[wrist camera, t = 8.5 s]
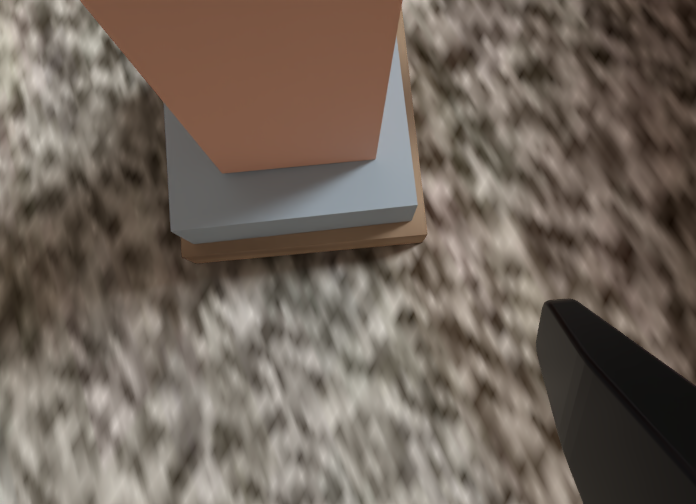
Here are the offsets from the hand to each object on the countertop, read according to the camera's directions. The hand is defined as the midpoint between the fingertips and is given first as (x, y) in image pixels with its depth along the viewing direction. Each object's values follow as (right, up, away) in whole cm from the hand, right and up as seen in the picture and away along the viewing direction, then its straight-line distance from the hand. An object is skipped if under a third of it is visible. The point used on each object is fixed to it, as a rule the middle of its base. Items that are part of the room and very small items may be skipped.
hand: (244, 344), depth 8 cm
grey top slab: (-1, +6, +13) cm, 14 cm away
